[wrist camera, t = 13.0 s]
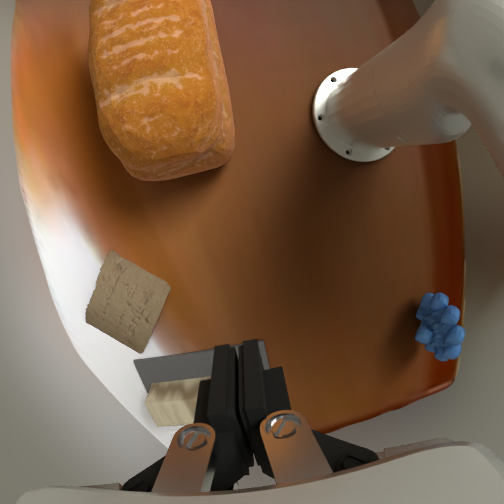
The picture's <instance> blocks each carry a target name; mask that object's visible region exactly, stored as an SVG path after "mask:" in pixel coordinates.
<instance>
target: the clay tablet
mask: <svg viewBox="0 0 504 504" xmlns="http://www.w3.org/2000/svg"><path fill="white" fill-rule="evenodd" d="M100 270H101V272H100V273H99V275H98V278H97V282H96V283H97V284H96V289H95V290H94V291H93V295H92V297H91V299H90V303H89V304H88V308H87V309H86V317H85V318H86V322H87V323H88V324H90V325H92V326H94V327H95V328H97V329H99V330H101V331H102V332H104V333H106V334H107V335H109V336H111V337H112V338H114V339H116V340H117V341H119V342H121V343H122V344H124V345H126V346H128V347H129V348H131V349H133V350H135V351H136V352H138V353H142V352H143V351H144V348H145V347H146V346H145V345H146V344H147V343H148V340H149V338H150V336H151V334H152V332H153V327H154V326H155V324H156V321H157V318H158V317H159V316H160V312H161V310H162V308H163V305H164V304H165V301H166V297H167V296H168V293H169V292H170V289H171V287H170V286H169V285H168V283H167V282H166V281H164V280H162V279H160V278H158V277H156V276H155V275H153V274H151V273H149V272H147V271H146V270H144V269H142V268H141V267H139V266H137V265H135V264H133V263H132V262H130V261H128V260H127V259H125V258H122V257H120V256H119V255H118V254H117V253H116V252H114V251H113V250H111V251H110V252H109V254H108V255H107V258H106V260H105V263H104V264H103V265H102V267H101V269H100Z"/></svg>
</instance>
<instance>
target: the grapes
mask: <svg viewBox="0 0 504 504" xmlns="http://www.w3.org/2000/svg"><path fill="white" fill-rule="evenodd" d="M448 302H449V298H448V297H447V296H446V295H445V294H443V293H441V292H440V293H436V294H433V293H426V294H425V295H424V296H423V297H422V299H421V303H420V306H419V308H418V310H417V313H416V317H417V318H418V319H419V320H421V321H422V322H421V324H420V326H419V328H418V329H417V331H416V335H415V340H416V341H418V342H420V343H422V344H425V349H426V350H428V351H430V352H435V355H434V357H435V358H436V359H438V360H440V361H447V360H448V359H456V358H457V357H458V356H459V355H460V352H461V343H462V342H463V340H464V337H465V330H464V329H463V328H462V327H461V326H459V325H455V324H457V322H458V320H459V317H460V310H459V309H458V308H457V307H455V306H452V305H449V306H448Z"/></svg>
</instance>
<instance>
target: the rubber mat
mask: <svg viewBox="0 0 504 504" xmlns="http://www.w3.org/2000/svg"><path fill="white" fill-rule="evenodd" d="M240 345H243V344H238V345H233V346H230V347H235V349H236V353H237V356H238V346H240ZM258 345H259V350H260V354H261V358H262V362H263V367H264V370H267V369H270V367H269V363H268V358H267V354H266V349H265V345H264V340H260V341H258ZM213 355H214V349H210V350H203V351H197V352H190V353H184V354H177V355H169V356H162V357H154V358H146V359H137V360H134V364H135V366H136V368H137V370H138V373H139V375H140V377H141V379H142V381H143V384H144V386H145V388H146V390H147V392H148V393H149V390H150V387H151V385H152V383H159V382H169V381H178V380H186V379H194V378H201V377H208V376H211V373H212V364H213Z"/></svg>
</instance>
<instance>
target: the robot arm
mask: <svg viewBox="0 0 504 504" xmlns="http://www.w3.org/2000/svg"><path fill="white" fill-rule="evenodd" d="M331 80H333V83H332V82H331ZM312 114H313V120H314V124H315V127H316V130H317V132H318V133H319V135H320V137H321V139H322V140H323V141H324V142H325V144H326V145H327V146H328V147H329V148H330V149H331V150H333V151H334V152H335V153H337V154H338V155H340V156H342V157H343V158H346V159H349V160H352V161H358V162H369V161H375V160H378V159H381V158H383V157H384V156H386V155H388V154H389V153H390V152H391V151H392V150H393V149H394V148H395V147H400V146H412V145H426V144H438V143H445V142H449V141H452V140H454V139H456V138H458V137H459V136H460V135H462V134H463V133H464V132H465V131H466V130H467V129H468V128H469V127H470V125H471V124H472V126H473V127H474V128H475V130H476V132H477V133H478V135H479V137H480V138H481V140H482V142H483V143H484V145H485V146H486V147H487V149H488V151H489V152H490V154H491V156H492V158H493V160H494V162H495V163H496V166H497V167H498V169H499V171H500V173H501V175H502V177H503V179H504V0H436V1H435V2H434V3H433V5H432V6H431V7H430V8H429V9H428V11H427V12H426V13H425V14H424V15H423V16H422V17H421V19H420V20H419V21H418V22H417V23H416V24H415V25H414V26H413V27H412V28H411V29H409V30H408V31H407V32H406V33H404V34H403V35H402V36H401V37H399V38H398V39H397V40H396V41H394V42H393V43H392V44H390V45H389V46H388V47H386V48H385V49H383V50H382V51H381V52H379V53H378V54H377V55H375V56H374V57H373V58H371V59H370V60H369V61H367V62H366V63H365V64H363V65H362V66H361V67H359V68H347V69H341V70H339V71H336V72H334V73H332V74H331V75H329V76H328V77H327V78H326V79H325V80H323V82H322V83H321V84H320V85H319V87H318V88H317V91H316V93H315V95H314V99H313V103H312ZM318 117H321V120H318ZM385 148H386V149H385ZM346 151H348V152H349V153H348V154H346ZM253 453H254V455H255V459H256V461H257V464H258V465H260V466H261V469H262V472H263V473H264V474H266V475H268V476H270V477H272V478H274V479H275V481H276V485H269V486H262V487H255V488H247V489H239V483H238V480H240V479H241V478H242V477H243V476H244V475H249V467H252V466H254V458H253ZM16 504H504V463H503V462H502V461H501V460H500V458H499V457H498V456H497V455H495V454H494V453H493V452H492V451H490V449H488V448H487V447H485V446H483V445H481V444H479V443H475V442H467V441H466V442H465V441H457V442H454V441H453V440H451V439H448V438H436V439H432V440H428V441H423V442H418V443H413V444H408V445H402V446H397V447H391V448H384V452H377V453H374V452H373V451H371V450H369V449H367V448H363V447H360V446H357V445H354V444H351V443H348V442H345V441H342V440H339V439H336V438H334V437H331V436H328V435H325V434H323V433H320V432H317V431H315V430H312V429H310V427H309V425H308V423H307V421H306V419H305V418H304V416H303V415H302V414H300V413H299V412H297V411H293V410H291V406H290V401H289V397H288V392H287V387H286V383H285V378H284V373H283V369H282V366H281V367H277V368H272V369H267V370H264V367H263V362H262V358H261V354H260V350H259V345H258V341H257V339H253V340H247V341H243V345H240V346H238V356H237V353H236V349H235V347H230V346H229V344H226V345H220V346H215V347H214V355H213V364H212V373H211V379H207V380H201V381H200V383H199V389H198V396H197V402H196V409H195V416H194V422H193V423H192V424H189V425H186V426H184V427H182V428H180V429H179V430H178V431H177V432H176V433H175V435H174V437H173V439H172V441H171V444H170V446H169V449H168V452H167V454H166V456H164V457H163V458H161V459H160V460H158V461H157V462H155V463H154V464H152V465H151V466H149V467H148V468H146V469H145V470H143V471H142V472H140V473H139V474H137V475H136V476H134V477H132V478H131V479H129V480H128V481H127V482H126V483H125V484H124V485H121V484H120V483H113V484H104V485H92V486H77V487H76V486H48V487H41V488H36V489H33V490H30V491H28V492H26V493H25V494H24V495H22V496H21V497H20V499H19V500H18V501H17V502H16Z"/></svg>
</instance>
